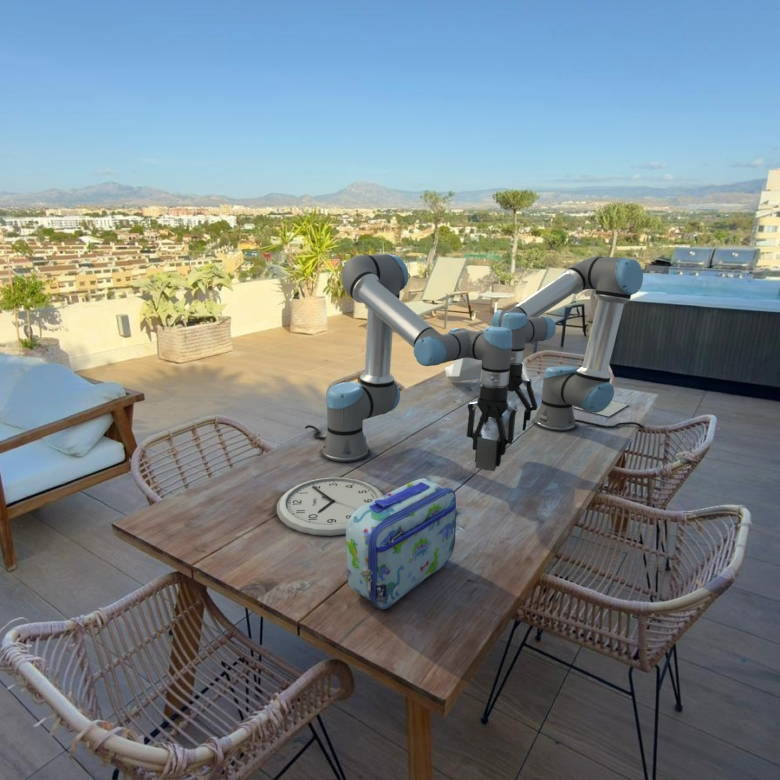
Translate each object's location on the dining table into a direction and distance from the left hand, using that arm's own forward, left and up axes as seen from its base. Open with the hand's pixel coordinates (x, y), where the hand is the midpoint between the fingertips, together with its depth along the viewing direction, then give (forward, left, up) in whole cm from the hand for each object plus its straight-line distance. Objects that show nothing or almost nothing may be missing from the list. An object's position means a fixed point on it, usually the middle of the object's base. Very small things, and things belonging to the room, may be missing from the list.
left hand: (487, 462), depth 149 cm
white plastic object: (-37, +95, -9) cm, 102 cm away
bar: (-2, +13, 0) cm, 13 cm away
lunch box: (-1, -48, -9) cm, 49 cm away
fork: (-3, -21, -9) cm, 23 cm away
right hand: (-4, +26, +2) cm, 26 cm away
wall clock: (-33, -30, -9) cm, 45 cm away
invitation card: (+15, +99, -9) cm, 101 cm away
